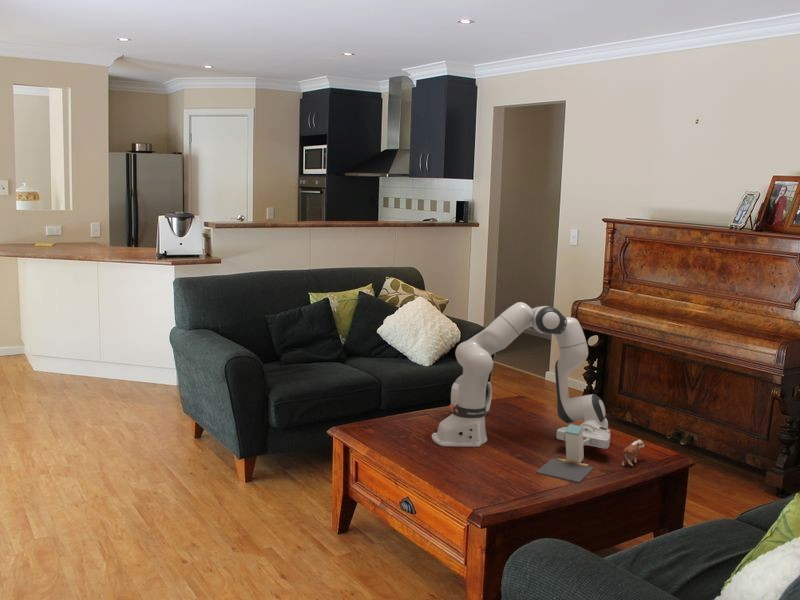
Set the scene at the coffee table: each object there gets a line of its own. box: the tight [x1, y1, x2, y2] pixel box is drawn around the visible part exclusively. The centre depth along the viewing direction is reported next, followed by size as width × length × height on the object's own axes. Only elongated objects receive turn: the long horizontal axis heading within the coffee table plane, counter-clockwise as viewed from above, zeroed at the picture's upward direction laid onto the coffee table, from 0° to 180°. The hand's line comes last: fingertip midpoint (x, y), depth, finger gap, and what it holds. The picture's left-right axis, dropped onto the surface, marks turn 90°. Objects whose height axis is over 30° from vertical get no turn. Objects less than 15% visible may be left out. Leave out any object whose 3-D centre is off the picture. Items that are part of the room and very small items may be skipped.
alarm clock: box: [450, 373, 493, 413], centre depth 342 cm, size 18×8×20 cm, turn 119°
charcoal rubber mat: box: [535, 458, 595, 484], centre depth 282 cm, size 16×17×1 cm
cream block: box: [565, 423, 585, 463], centre depth 289 cm, size 5×5×14 cm
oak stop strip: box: [555, 457, 589, 467], centre depth 289 cm, size 12×2×1 cm, turn 59°
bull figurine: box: [621, 439, 645, 467], centre depth 292 cm, size 4×13×8 cm, turn 137°
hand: (577, 442), depth 292 cm, fingers closed on cream block, 2 cm apart
